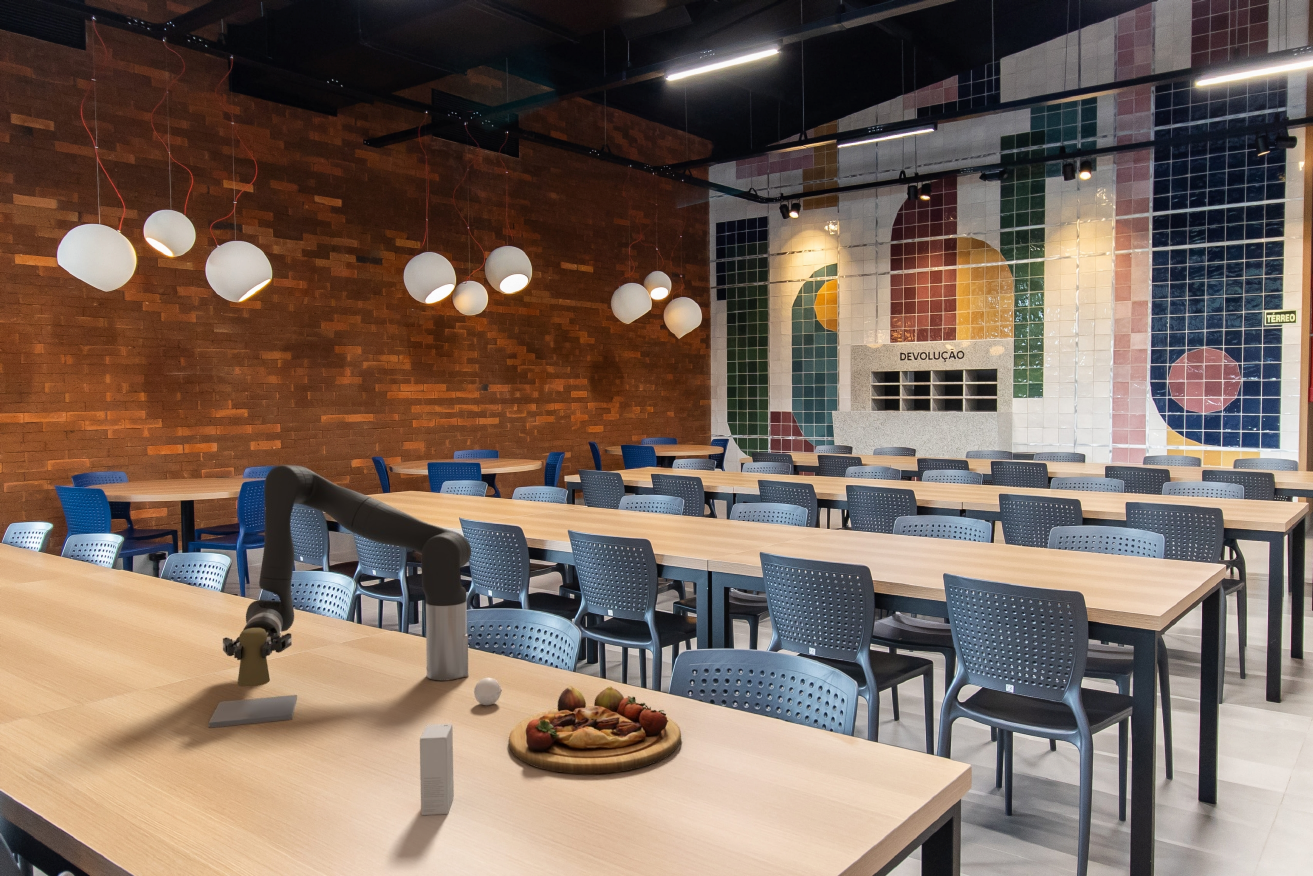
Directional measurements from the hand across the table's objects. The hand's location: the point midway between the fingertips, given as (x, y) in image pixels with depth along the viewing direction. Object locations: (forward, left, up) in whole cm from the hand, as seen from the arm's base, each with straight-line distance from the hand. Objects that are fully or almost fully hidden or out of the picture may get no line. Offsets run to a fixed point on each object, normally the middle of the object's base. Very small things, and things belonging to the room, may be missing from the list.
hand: (251, 654), depth 177 cm
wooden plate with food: (-63, +34, -13) cm, 73 cm away
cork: (0, -3, -7) cm, 7 cm away
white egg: (-47, +6, -13) cm, 49 cm away
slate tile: (0, -3, -13) cm, 13 cm away
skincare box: (-33, +53, -13) cm, 64 cm away
